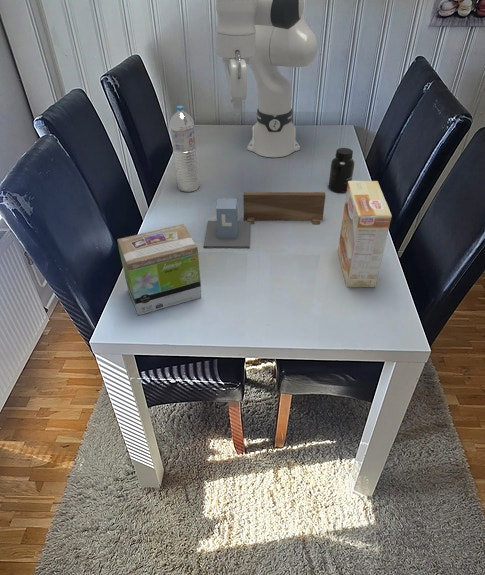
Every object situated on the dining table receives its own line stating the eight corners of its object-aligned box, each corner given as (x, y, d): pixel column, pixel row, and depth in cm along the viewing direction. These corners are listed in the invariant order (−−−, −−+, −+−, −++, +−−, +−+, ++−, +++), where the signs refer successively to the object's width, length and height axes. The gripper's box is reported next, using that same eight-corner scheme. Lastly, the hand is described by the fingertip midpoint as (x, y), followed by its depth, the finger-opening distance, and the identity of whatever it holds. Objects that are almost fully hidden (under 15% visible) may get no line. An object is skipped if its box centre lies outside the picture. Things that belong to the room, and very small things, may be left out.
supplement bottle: (350, 194, 135) (356, 156, 127) (327, 192, 136) (332, 155, 128) (350, 183, 140) (356, 146, 132) (328, 181, 141) (333, 145, 133)
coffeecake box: (336, 249, 114) (347, 180, 101) (364, 249, 114) (378, 179, 101) (345, 287, 103) (357, 215, 90) (376, 288, 103) (393, 215, 90)
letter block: (219, 227, 122) (217, 198, 116) (237, 227, 121) (236, 198, 115) (218, 238, 118) (216, 209, 112) (236, 238, 117) (235, 209, 112)
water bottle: (190, 180, 144) (181, 100, 127) (204, 187, 140) (197, 106, 124) (173, 187, 140) (162, 106, 124) (187, 195, 136) (177, 112, 120)
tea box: (138, 318, 97) (125, 264, 87) (128, 290, 104) (114, 237, 94) (203, 298, 101) (197, 245, 91) (189, 273, 108) (182, 221, 98)
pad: (208, 222, 125) (207, 220, 124) (250, 222, 124) (250, 220, 124) (203, 247, 116) (203, 246, 115) (249, 248, 115) (249, 246, 115)
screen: (244, 214, 128) (243, 189, 122) (321, 214, 127) (324, 189, 122) (243, 223, 124) (243, 198, 119) (323, 224, 123) (326, 198, 118)
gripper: (254, 56, 95) (252, 122, 103) (245, 37, 110) (244, 96, 119) (224, 56, 94) (225, 122, 103) (220, 37, 110) (221, 96, 119)
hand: (235, 108), depth 111 cm, fingers open, 8 cm apart
